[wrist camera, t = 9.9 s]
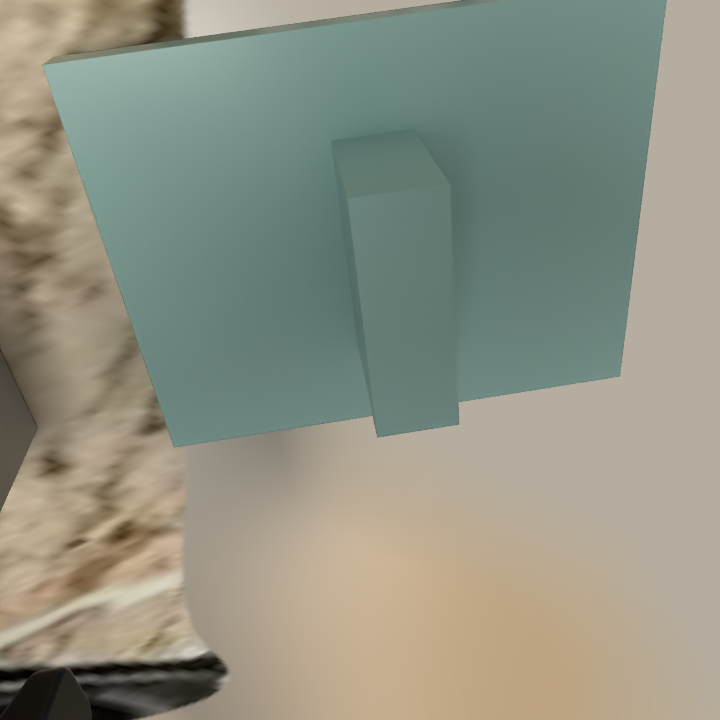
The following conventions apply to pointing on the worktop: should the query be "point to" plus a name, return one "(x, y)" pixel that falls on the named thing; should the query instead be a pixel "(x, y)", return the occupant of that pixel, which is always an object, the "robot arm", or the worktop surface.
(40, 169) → the worktop surface
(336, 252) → the lid
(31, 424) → the tub
